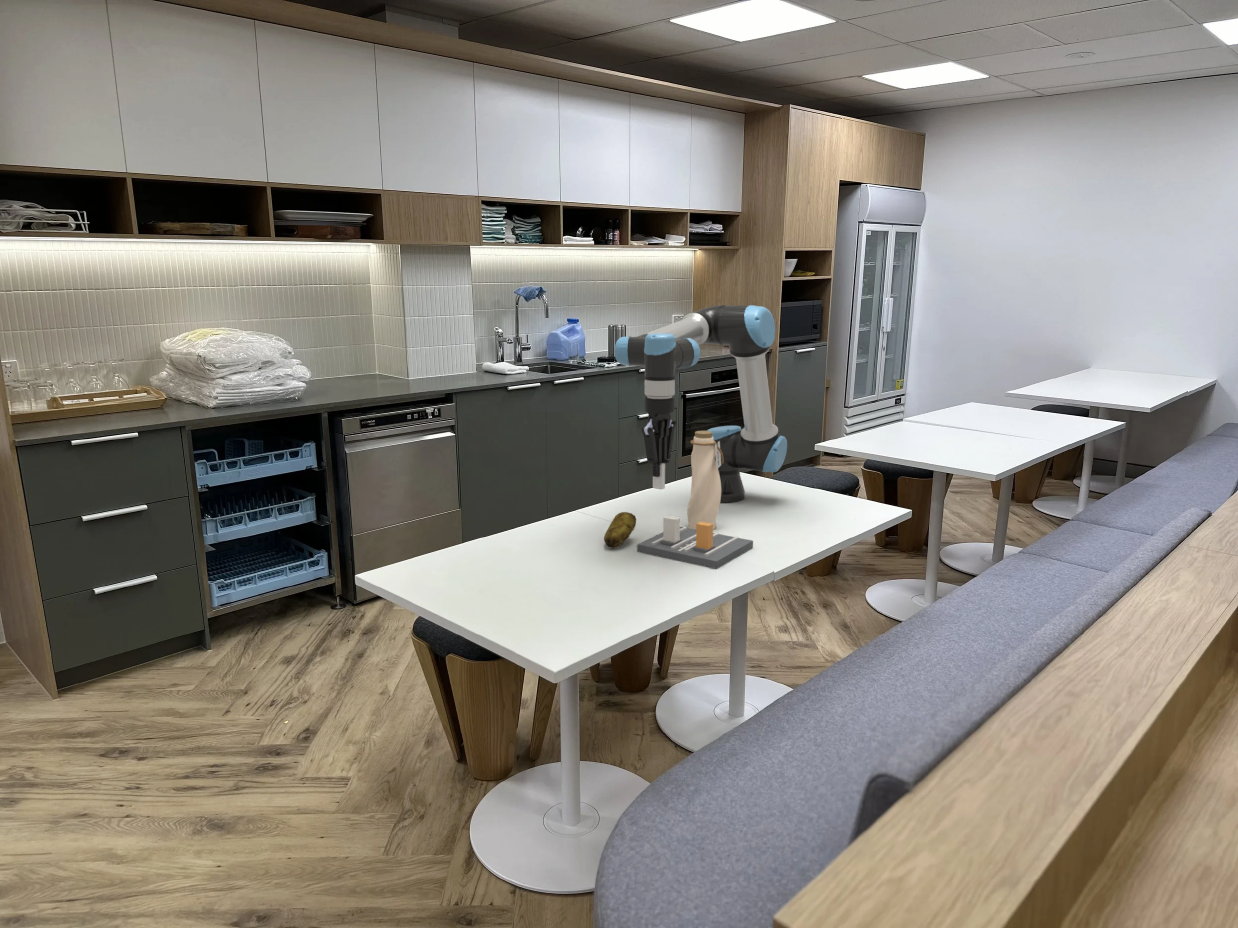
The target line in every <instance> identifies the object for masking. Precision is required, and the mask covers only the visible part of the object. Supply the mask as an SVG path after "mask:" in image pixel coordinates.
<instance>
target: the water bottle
mask: <svg viewBox="0 0 1238 928" xmlns="http://www.w3.org/2000/svg"><path fill="white" fill-rule="evenodd" d="M690 444H691V445H692V446H693V447H692V452H691V456H690V461H691V463H690V465H691V488H690V498H689V502H688V505H687V509H686V517H687V523H688V528H691V529H696V524H697V523H699V522H706V523H711V524H713V530H715V529H716V524H717V516H718V513H719V509H720V506H721V502H720V500H721V481H720V475H719V471H718V468H719V467H720V466H721V458H722V464H723V463H724V457H723V453H722V451H721V449H720V441H719V442H718V443H717V444H718V445H717V444H716V442H715V441H714V440H713V436H712V432H711V431H707V430H697V431H695V432H694V436H693V439H692V440H690ZM714 445H715V446H714ZM715 456H716V462H715Z"/></svg>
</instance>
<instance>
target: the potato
mask: <svg viewBox="0 0 1238 928" xmlns="http://www.w3.org/2000/svg"><path fill="white" fill-rule="evenodd" d="M636 525H637V518H636V515H635V514H633V513H631V512H628V511H623V512H622V511H621V512H619V513H617V514H615V516H614V518H613V519H612V521H611V522H610V524H609V526H608V528H607V529H606V531H605V533H604V537H603V540H604V541H603V542H604V544H605V545H606V546H607V547H608V548H610V549H615V548H618V547H620V546H621V545H622V544H623V543H624V542H625V541H627V540H628V538H629V537H630V536H631V535H632V533H633V531H635V528H636Z"/></svg>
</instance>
